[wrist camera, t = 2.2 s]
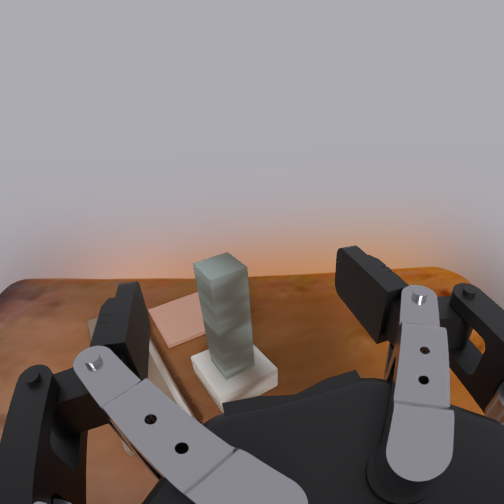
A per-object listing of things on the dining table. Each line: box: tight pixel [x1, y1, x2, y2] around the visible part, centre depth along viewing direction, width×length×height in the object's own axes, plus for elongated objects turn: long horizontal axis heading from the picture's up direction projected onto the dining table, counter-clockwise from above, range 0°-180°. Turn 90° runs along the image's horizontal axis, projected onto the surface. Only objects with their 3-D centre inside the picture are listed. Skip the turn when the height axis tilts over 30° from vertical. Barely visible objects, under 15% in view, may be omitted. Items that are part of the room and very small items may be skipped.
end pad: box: [148, 292, 206, 348], centre depth 38 cm, size 8×8×1 cm
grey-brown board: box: [87, 317, 197, 457], centre depth 30 cm, size 7×21×1 cm, turn 32°
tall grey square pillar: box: [191, 253, 278, 413], centre depth 26 cm, size 6×6×13 cm
